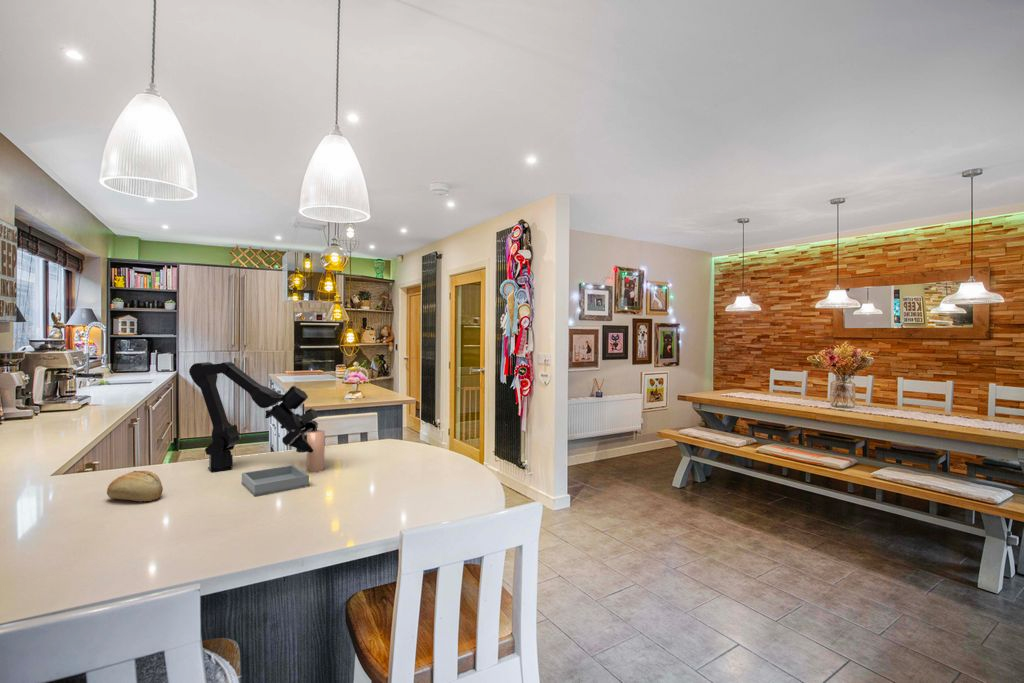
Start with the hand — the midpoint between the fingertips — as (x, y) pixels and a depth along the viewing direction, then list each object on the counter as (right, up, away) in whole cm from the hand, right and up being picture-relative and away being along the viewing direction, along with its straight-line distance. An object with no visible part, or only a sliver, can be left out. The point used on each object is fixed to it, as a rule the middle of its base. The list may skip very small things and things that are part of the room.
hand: (317, 448), depth 172 cm
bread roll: (-40, -8, -33) cm, 52 cm away
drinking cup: (-18, -7, +28) cm, 34 cm away
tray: (-7, -8, -17) cm, 20 cm away
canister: (-1, -8, 0) cm, 8 cm away
